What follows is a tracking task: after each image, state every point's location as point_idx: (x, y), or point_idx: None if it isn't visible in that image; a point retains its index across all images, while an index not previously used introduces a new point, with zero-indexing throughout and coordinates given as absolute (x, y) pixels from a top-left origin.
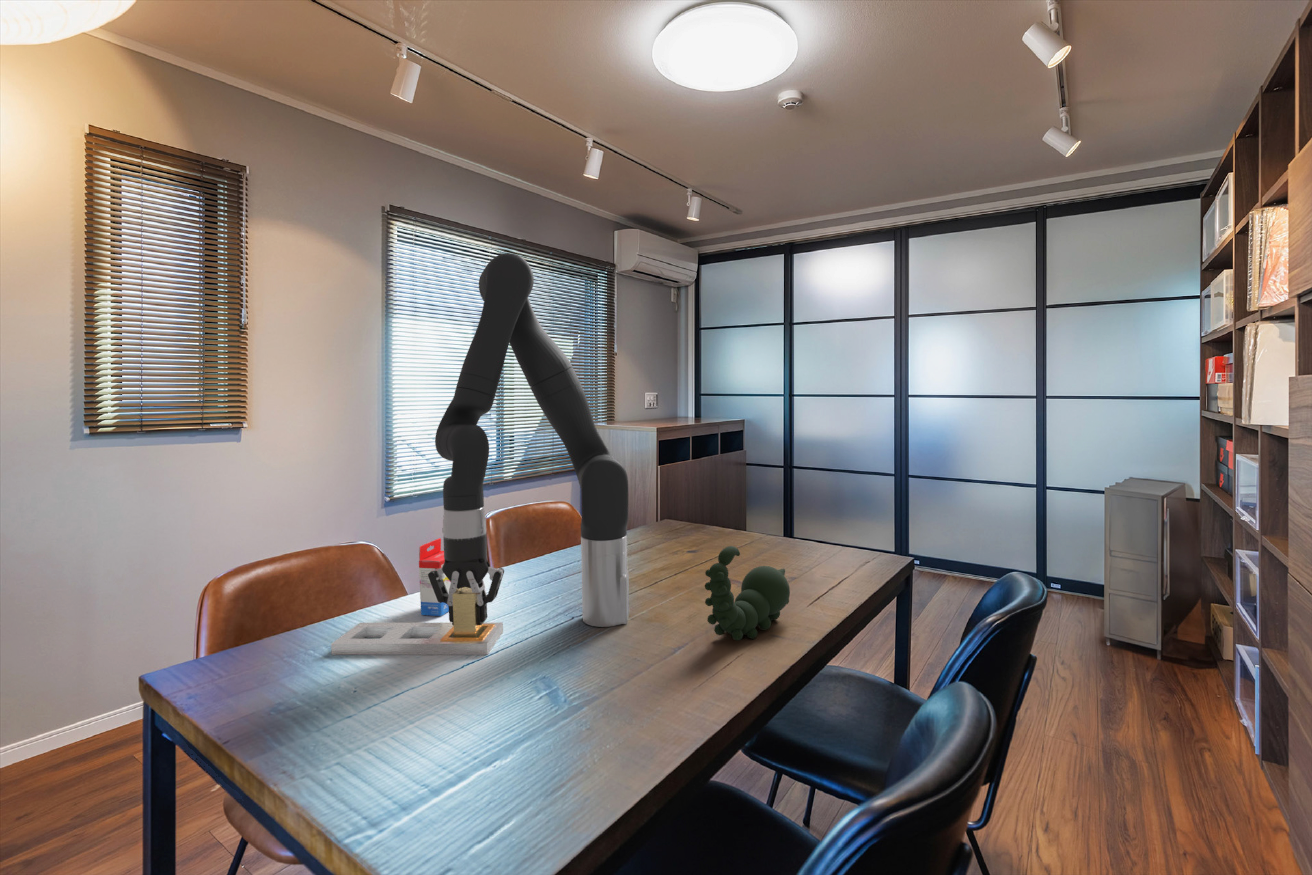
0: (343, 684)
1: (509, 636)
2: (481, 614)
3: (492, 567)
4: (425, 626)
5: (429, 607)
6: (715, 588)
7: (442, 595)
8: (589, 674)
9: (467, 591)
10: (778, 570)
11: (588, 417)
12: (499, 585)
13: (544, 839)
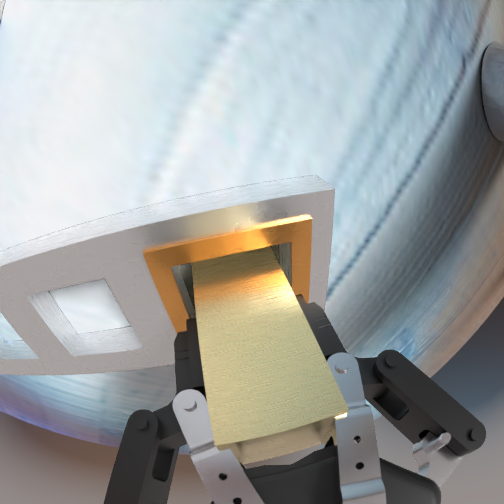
0: (122, 411)
1: (342, 201)
2: None
3: (445, 479)
4: (55, 285)
5: None
6: None
7: (176, 456)
8: (448, 304)
9: (289, 445)
10: None
11: None
12: (435, 393)
13: (377, 415)
